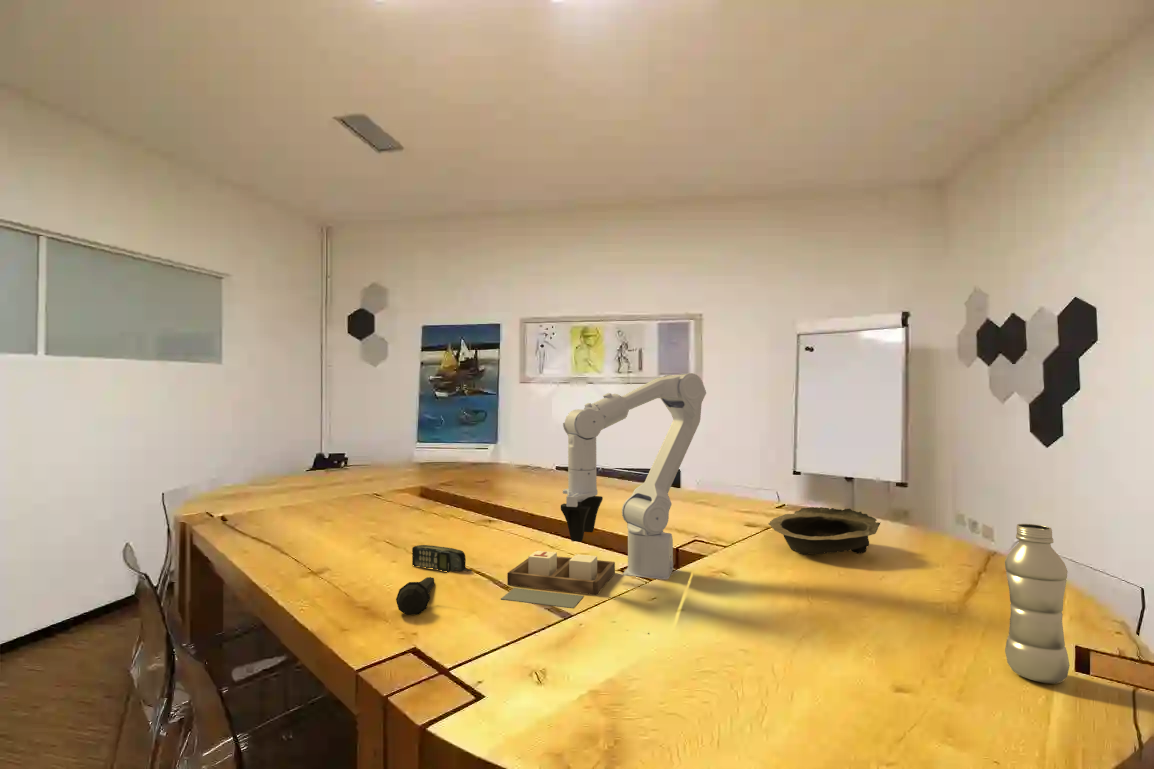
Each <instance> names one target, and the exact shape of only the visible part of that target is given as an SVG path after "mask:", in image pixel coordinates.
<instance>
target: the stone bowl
mask: <svg viewBox="0 0 1154 769" xmlns="http://www.w3.org/2000/svg"><path fill="white" fill-rule="evenodd" d="M877 521H878V520H877V518H875V517H872V516H870V515H868V514H867V513H862V511H856V510H853V509H851V508H844V509H841V508H837V509H836V508H833V507H831V508H829V507H824V506H822V507H817V506H814V507H813V506H810V507H803V508H802V507H801V508H800V509H799V510H796V511H794V513H784V514H783V515H779V516H777V517H774V518H773V519H771V520H769V522H767V523H768V525H769V526H770V527H771V528H772V529H773V531H775V532H777V533H779V534H781V535H782V536H783V538H784V540H785V541H786V543H787V545H788V546H789V548H790V549H791V550H792V551H795V552H797V553H799V554H801V555H805V556H807V555H809V554H811V555H823V554H824V555H825V554H832V553H843V552H849V551H851V552H852V553H855V554H864V553H866V552H867V548H868V547H869V544H870V540H869V536H873V535H875V534H877V531H878V530H879V527H880V525H881V522H877Z"/></svg>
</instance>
